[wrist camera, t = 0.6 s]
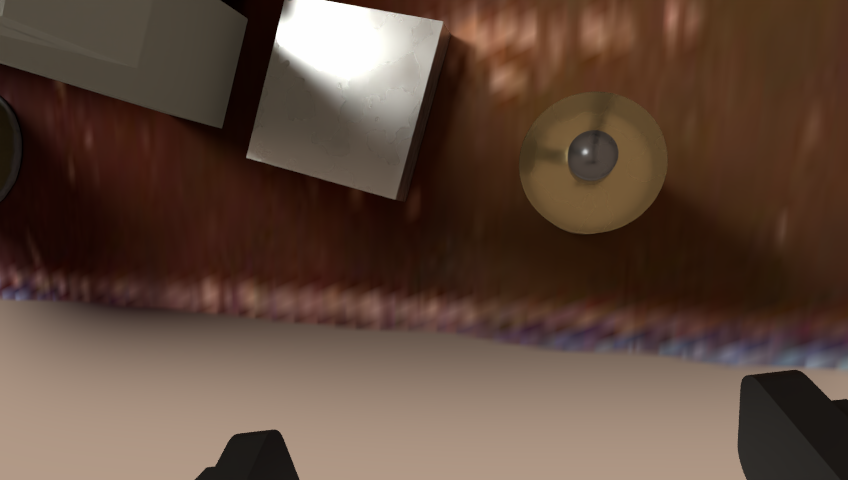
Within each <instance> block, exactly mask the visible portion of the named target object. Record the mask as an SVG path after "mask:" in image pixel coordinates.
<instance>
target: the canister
mask: <svg viewBox="0 0 848 480" xmlns="http://www.w3.org/2000/svg"><path fill="white" fill-rule="evenodd" d="M21 158H22V137H21V132H20V128H19V125H18V122H17V120H16V117H15V114H14V113H13V111H12V110H11V108H10V107H9V106H8V104H7V103H6V101H4V100H3V99H2V98H1V97H0V201H2V200H3V199H4V198H5V196H6V195H7V193H8V192H9V190H10V189H11V187H12V186H13V184H14V183H15V181H16V178H17V175H18V171H19V168H20V164H21Z"/></svg>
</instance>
